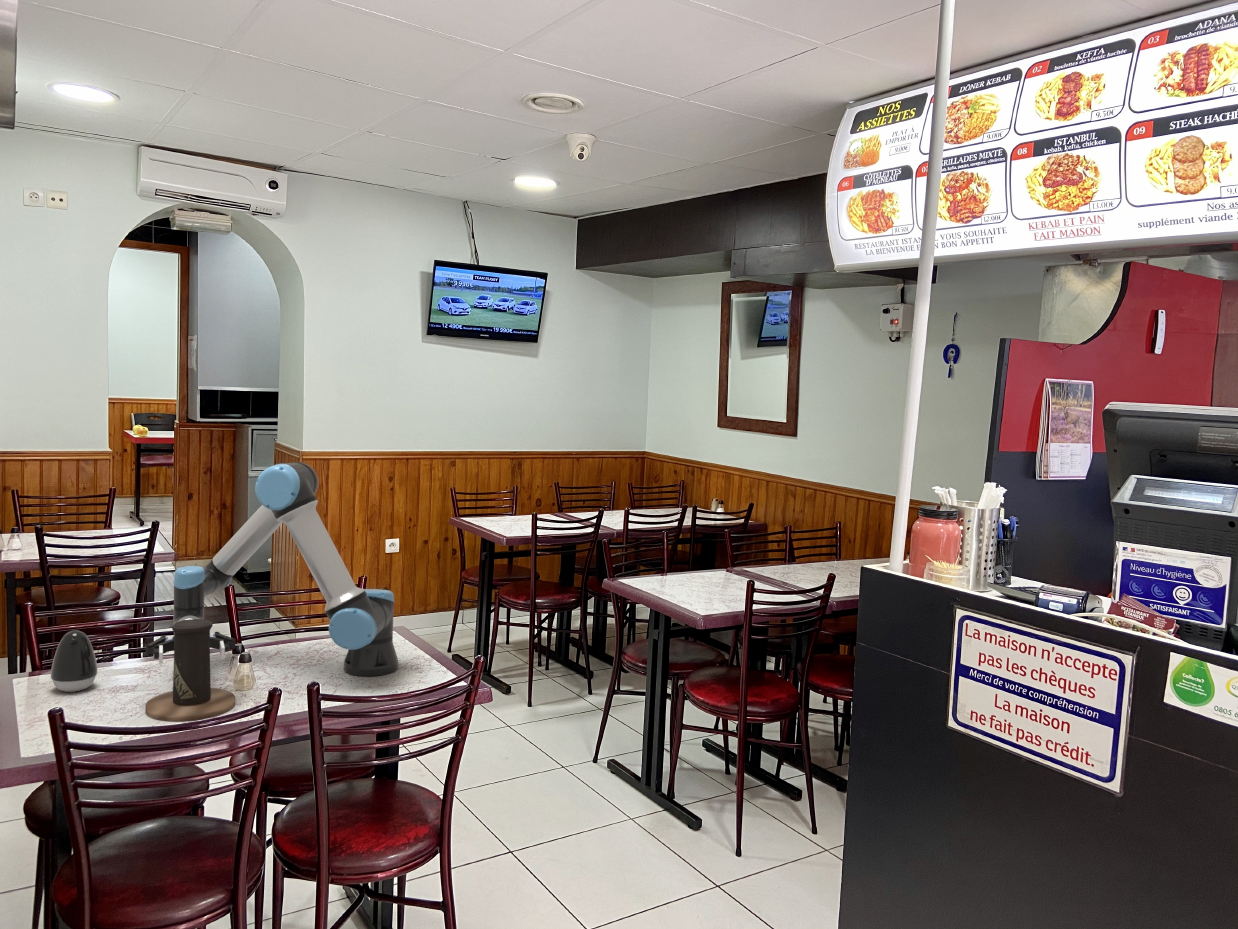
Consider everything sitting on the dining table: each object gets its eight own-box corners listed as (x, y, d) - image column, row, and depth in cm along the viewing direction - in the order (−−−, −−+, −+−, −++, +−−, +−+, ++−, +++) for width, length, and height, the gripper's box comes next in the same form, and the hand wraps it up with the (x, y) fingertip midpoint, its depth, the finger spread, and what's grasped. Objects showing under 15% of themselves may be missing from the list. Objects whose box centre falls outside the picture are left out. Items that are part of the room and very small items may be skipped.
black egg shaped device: (48, 697, 220) (48, 637, 219) (52, 685, 229) (53, 627, 228) (96, 693, 225) (96, 634, 224) (98, 680, 234) (98, 624, 233)
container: (173, 696, 221) (173, 617, 219) (212, 693, 224) (213, 615, 223) (170, 707, 213) (170, 625, 212) (211, 704, 216) (212, 623, 215)
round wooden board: (251, 697, 227) (251, 691, 227) (204, 725, 207) (204, 718, 207) (179, 690, 230) (179, 684, 230) (126, 717, 210) (126, 710, 210)
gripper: (240, 643, 239) (247, 666, 221) (135, 651, 228) (133, 675, 209) (241, 616, 239) (248, 636, 220) (136, 622, 227) (134, 644, 209)
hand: (192, 655), depth 215 cm, fingers open, 13 cm apart
